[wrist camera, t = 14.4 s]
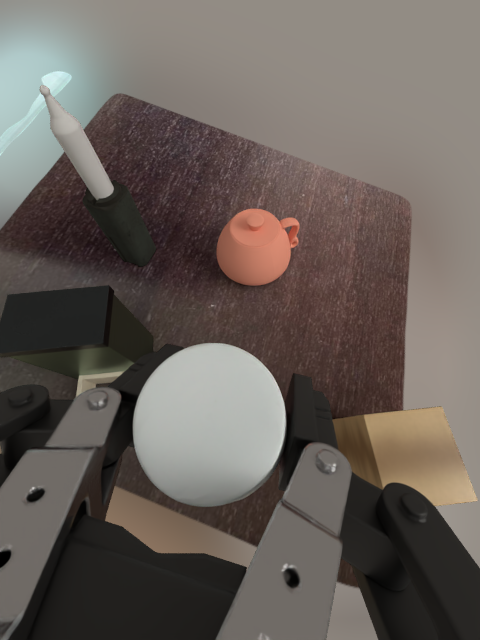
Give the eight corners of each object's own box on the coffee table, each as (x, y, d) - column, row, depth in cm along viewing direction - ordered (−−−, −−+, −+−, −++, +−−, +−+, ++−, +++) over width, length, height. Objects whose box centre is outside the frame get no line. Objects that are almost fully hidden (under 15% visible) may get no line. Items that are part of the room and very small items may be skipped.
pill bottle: (231, 366, 16) (218, 299, 8) (290, 429, 14) (340, 420, 7) (167, 424, 15) (81, 408, 7) (224, 500, 13) (194, 588, 5)
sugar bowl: (211, 243, 48) (203, 197, 39) (283, 226, 50) (292, 178, 40) (228, 300, 44) (223, 264, 34) (307, 280, 45) (324, 239, 36)
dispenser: (153, 375, 39) (102, 343, 25) (81, 382, 39) (-10, 354, 25) (154, 334, 41) (109, 285, 27) (87, 341, 41) (7, 294, 27)
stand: (363, 468, 34) (478, 501, 17) (317, 473, 34) (389, 511, 17) (351, 418, 36) (442, 406, 20) (308, 423, 36) (363, 414, 20)
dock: (140, 429, 36) (130, 428, 33) (85, 435, 36) (70, 435, 33) (143, 375, 39) (134, 370, 36) (92, 380, 39) (78, 375, 36)
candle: (119, 259, 47) (1, 95, 24) (134, 238, 49) (37, 66, 26) (144, 268, 46) (46, 106, 23) (158, 246, 48) (80, 76, 25)
